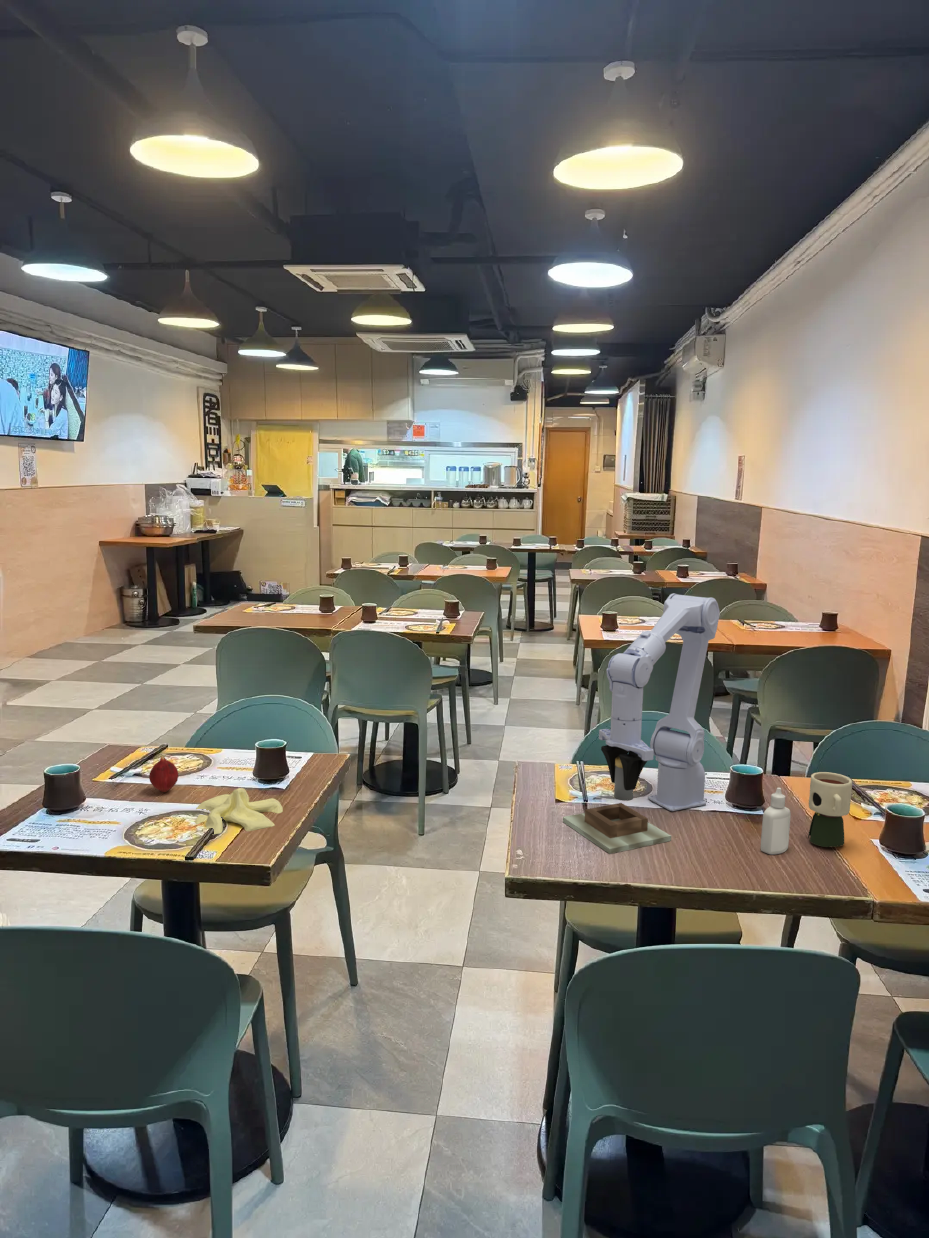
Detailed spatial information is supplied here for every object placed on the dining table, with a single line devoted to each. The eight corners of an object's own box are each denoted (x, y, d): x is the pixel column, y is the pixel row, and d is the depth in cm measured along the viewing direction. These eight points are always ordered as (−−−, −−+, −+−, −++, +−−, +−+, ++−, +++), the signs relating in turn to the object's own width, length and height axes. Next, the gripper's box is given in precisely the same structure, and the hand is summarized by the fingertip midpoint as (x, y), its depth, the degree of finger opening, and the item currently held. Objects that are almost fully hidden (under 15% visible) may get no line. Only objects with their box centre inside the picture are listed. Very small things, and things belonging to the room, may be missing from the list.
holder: (620, 810, 172) (621, 794, 172) (670, 840, 158) (671, 823, 157) (562, 821, 166) (563, 804, 166) (609, 853, 152) (610, 835, 152)
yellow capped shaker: (626, 792, 163) (628, 755, 162) (636, 799, 160) (638, 761, 158) (610, 794, 162) (611, 757, 161) (619, 801, 158) (621, 763, 157)
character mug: (798, 830, 163) (803, 767, 161) (836, 833, 162) (842, 769, 160) (813, 855, 153) (819, 787, 151) (854, 857, 152) (861, 789, 150)
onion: (184, 790, 180) (183, 755, 179) (162, 799, 175) (160, 762, 174) (167, 785, 183) (165, 750, 182) (144, 793, 178) (142, 757, 177)
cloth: (205, 798, 178) (204, 770, 177) (292, 799, 178) (292, 771, 177) (167, 842, 156) (166, 811, 155) (267, 844, 156) (266, 812, 155)
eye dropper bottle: (794, 854, 153) (799, 792, 151) (764, 855, 152) (768, 792, 150) (783, 844, 157) (788, 783, 155) (754, 845, 157) (759, 784, 155)
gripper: (587, 709, 163) (584, 776, 165) (632, 729, 150) (629, 801, 152) (616, 705, 166) (613, 771, 168) (664, 725, 153) (660, 795, 155)
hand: (623, 785), depth 160 cm, fingers closed on yellow capped shaker, 4 cm apart
